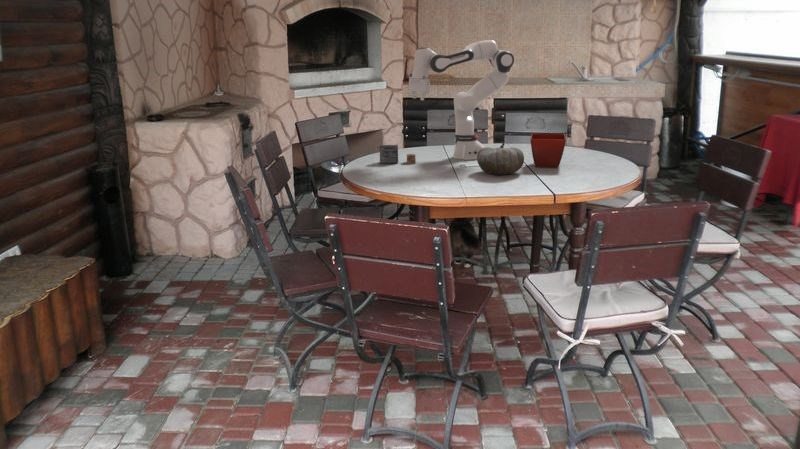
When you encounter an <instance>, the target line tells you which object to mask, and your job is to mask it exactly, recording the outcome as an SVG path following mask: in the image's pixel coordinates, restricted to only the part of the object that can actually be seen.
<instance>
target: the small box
mask: <svg viewBox="0 0 800 449" xmlns="http://www.w3.org/2000/svg"><path fill="white" fill-rule="evenodd" d="M398 163H399V144H381V145H379V164H380V165H381V164H382V165H383V164H384V165H387V164H388V165H393V164H394V165H395V164H398Z"/></svg>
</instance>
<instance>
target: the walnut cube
mask: <svg viewBox="0 0 800 449" xmlns="http://www.w3.org/2000/svg"><path fill="white" fill-rule="evenodd" d="M416 162H417V161H416V153H406V164H408V165H410V164H416Z"/></svg>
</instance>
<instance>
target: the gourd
mask: <svg viewBox="0 0 800 449" xmlns="http://www.w3.org/2000/svg"><path fill="white" fill-rule="evenodd" d="M505 144H506V143H505V142H502V144H501V145H500V146H499V147H490V146H485V147H484V148H481V149H480V150H479V151H478V155H477V159H476V161H477V164H478V166H479V168H480V169H481V171H483V172H484V173H489V174H495V175H496V176H505V175H509V174H513V173H516V172H518V171H519V170H520V169H521V168H522V167H523V166H524V164H525V155H524V153H523V151H522V149H520V148H518V147H516V146H515V147H514V146H513V147H504V146H505Z"/></svg>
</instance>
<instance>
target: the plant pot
mask: <svg viewBox="0 0 800 449" xmlns="http://www.w3.org/2000/svg"><path fill="white" fill-rule="evenodd" d="M566 140H567V139H566V134H565V133H533V132H532V133H531V134H530V145H531V146H530V148H531V153H532V154H531V155H532V160H533V164H534V167H535V168H551V169H553V168H556V169H557V168H559V167H560V165H561V161H562V159H563V155H564V150H565V146H566Z"/></svg>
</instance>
